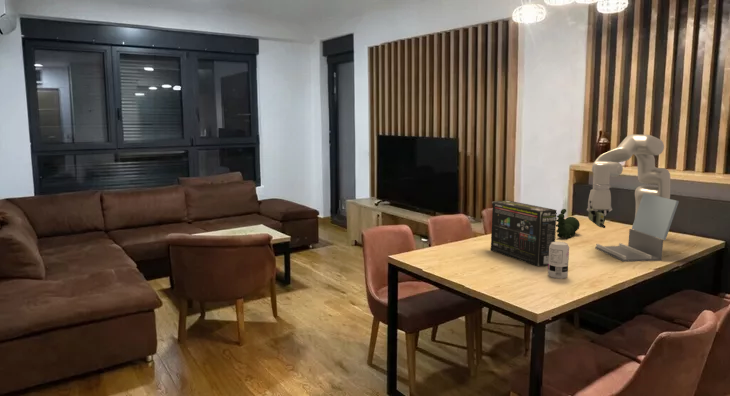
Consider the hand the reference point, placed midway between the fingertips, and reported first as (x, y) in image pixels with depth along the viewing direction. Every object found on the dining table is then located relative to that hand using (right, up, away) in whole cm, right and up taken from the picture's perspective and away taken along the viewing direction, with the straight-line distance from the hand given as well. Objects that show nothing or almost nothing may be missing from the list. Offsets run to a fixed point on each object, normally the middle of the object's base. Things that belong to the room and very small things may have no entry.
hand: (598, 222), depth 259 cm
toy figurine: (+2, -11, +44) cm, 45 cm away
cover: (+29, +4, +2) cm, 29 cm away
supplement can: (-33, -22, -33) cm, 52 cm away
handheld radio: (-1, -1, 0) cm, 1 cm away
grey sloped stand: (+16, -16, +4) cm, 23 cm away
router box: (-40, -18, -1) cm, 44 cm away
